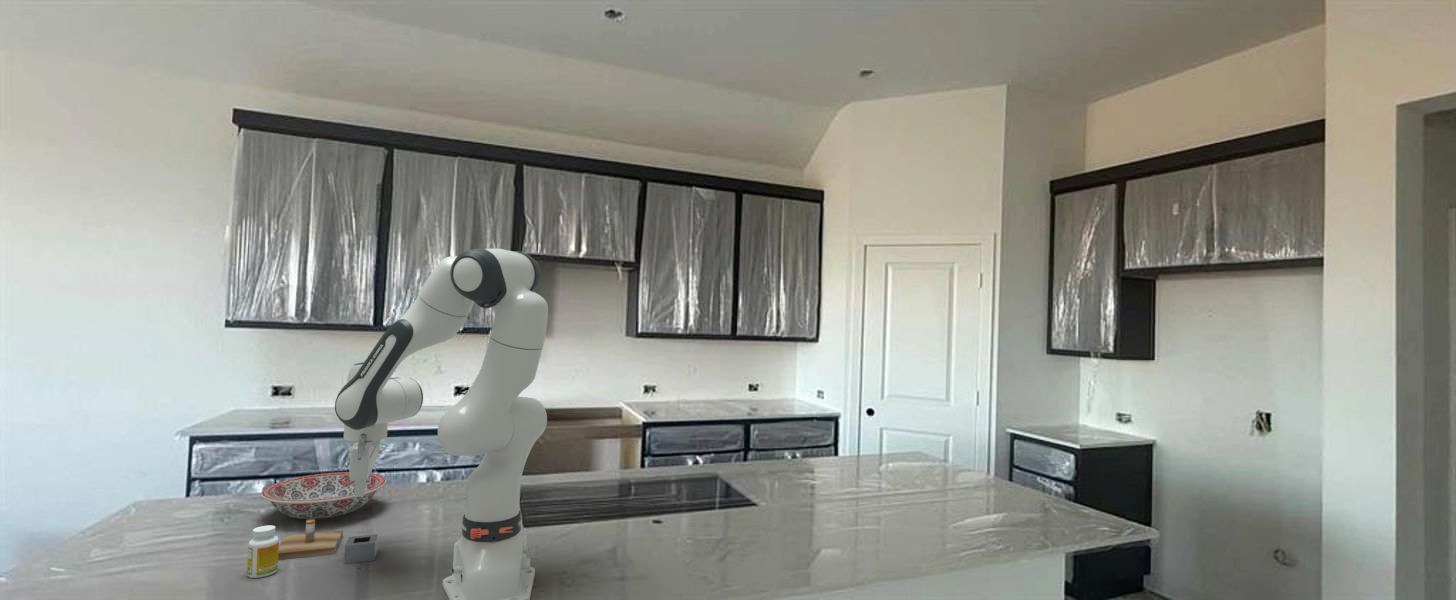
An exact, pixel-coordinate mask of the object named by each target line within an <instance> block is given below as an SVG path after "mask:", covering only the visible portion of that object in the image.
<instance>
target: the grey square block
mask: <svg viewBox="0 0 1456 600" xmlns="http://www.w3.org/2000/svg"><path fill="white" fill-rule="evenodd" d="M378 541H379V534H378V533H377V534H366V535H365V534H364V535H357V536H355V535H354V536H349V537H348V538H347V541H346V542H345V545H344V559H343V564H344V565H346V564H354V563H364V562H373V561H375V560H376V557H377V553H378V549H379V548H378V544H379V542H378Z"/></svg>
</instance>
